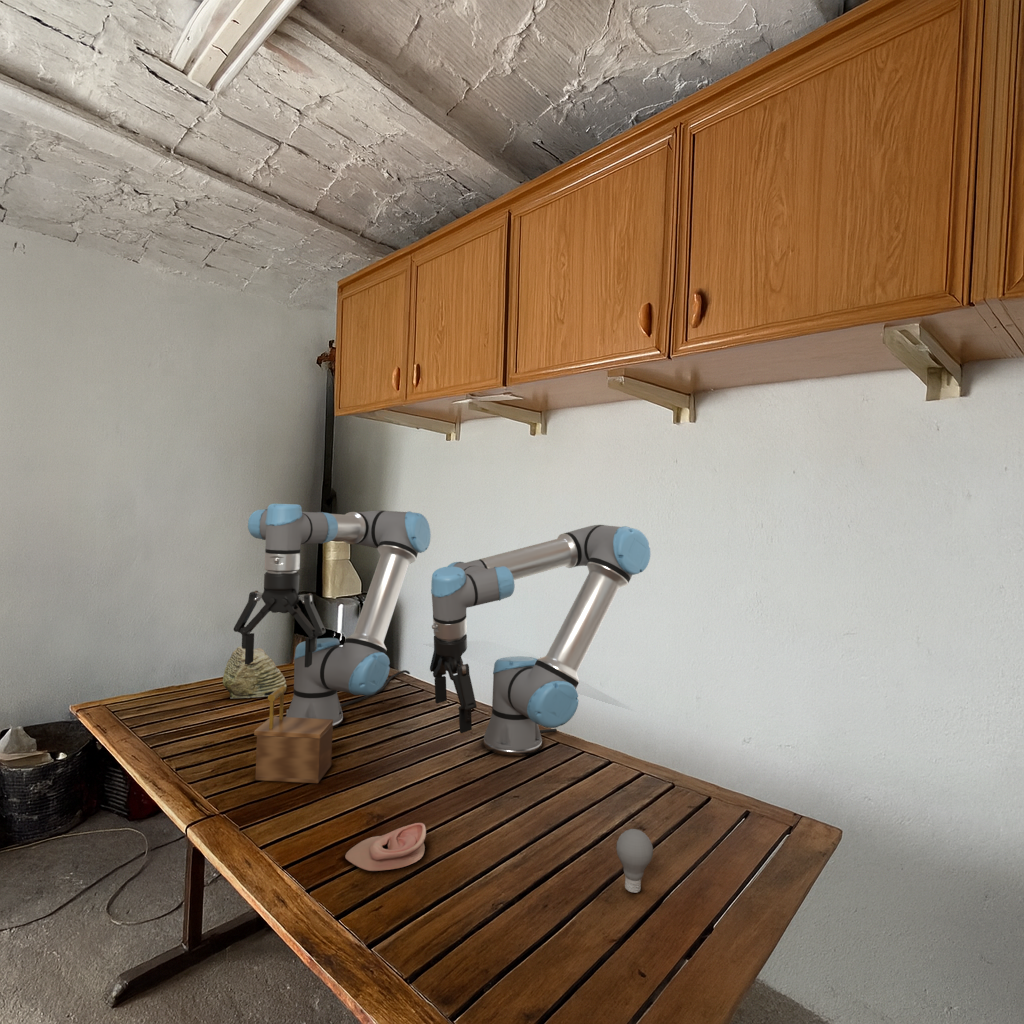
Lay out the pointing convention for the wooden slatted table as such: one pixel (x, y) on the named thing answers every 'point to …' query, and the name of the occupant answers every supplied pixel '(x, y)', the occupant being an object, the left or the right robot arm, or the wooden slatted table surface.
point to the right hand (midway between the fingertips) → (452, 715)
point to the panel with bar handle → (291, 722)
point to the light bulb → (634, 857)
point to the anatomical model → (390, 849)
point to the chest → (293, 758)
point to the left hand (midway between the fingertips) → (278, 664)
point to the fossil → (252, 675)
